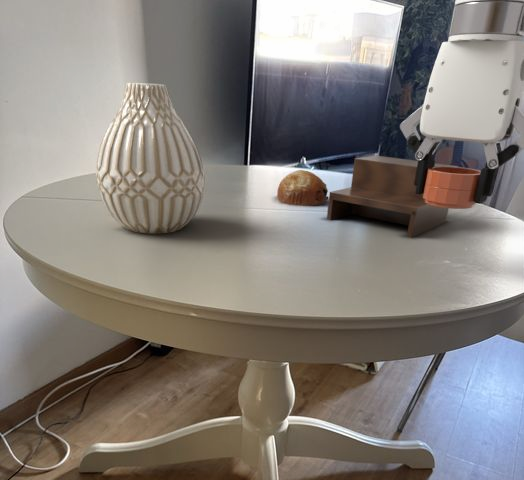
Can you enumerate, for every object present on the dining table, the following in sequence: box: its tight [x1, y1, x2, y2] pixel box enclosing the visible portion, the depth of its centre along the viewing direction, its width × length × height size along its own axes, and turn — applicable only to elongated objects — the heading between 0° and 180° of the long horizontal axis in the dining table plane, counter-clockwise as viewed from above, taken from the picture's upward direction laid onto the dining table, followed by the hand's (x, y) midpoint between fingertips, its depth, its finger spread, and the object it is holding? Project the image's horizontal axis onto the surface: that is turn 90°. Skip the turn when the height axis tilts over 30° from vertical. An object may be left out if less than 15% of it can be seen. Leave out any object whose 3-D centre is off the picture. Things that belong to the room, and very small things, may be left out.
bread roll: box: [276, 169, 329, 207], centre depth 98 cm, size 10×10×8 cm
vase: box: [95, 82, 206, 234], centre depth 71 cm, size 16×16×20 cm
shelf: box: [326, 155, 459, 239], centre depth 85 cm, size 16×16×10 cm
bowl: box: [423, 166, 481, 210], centre depth 60 cm, size 7×7×4 cm
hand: (450, 195), depth 60 cm, fingers closed on bowl, 6 cm apart
